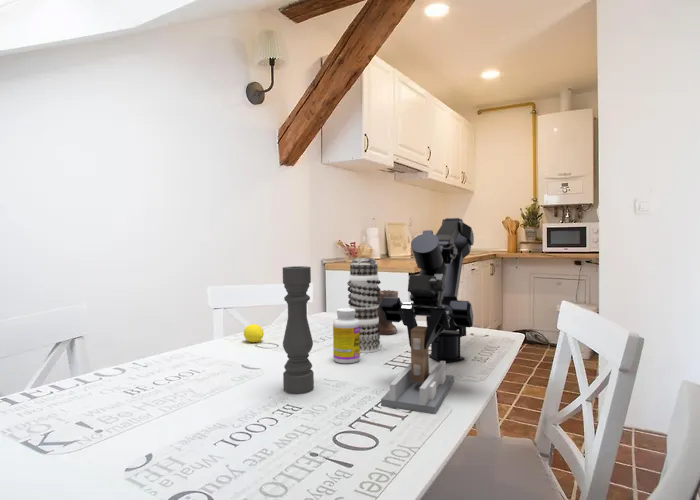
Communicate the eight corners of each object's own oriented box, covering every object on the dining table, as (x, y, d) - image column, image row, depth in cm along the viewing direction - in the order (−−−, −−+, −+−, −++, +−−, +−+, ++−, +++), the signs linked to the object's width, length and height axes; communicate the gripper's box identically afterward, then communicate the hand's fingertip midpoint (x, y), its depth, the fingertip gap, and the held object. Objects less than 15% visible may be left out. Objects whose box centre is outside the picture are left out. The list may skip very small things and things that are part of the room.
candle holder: (318, 385, 92) (316, 266, 91) (306, 395, 86) (303, 268, 85) (291, 382, 94) (289, 266, 93) (278, 392, 88) (275, 268, 87)
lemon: (267, 343, 131) (269, 325, 130) (254, 347, 126) (256, 328, 126) (250, 337, 135) (252, 320, 134) (237, 340, 130) (238, 323, 130)
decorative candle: (379, 344, 126) (378, 256, 125) (383, 352, 116) (382, 258, 116) (347, 344, 125) (346, 257, 125) (348, 353, 116) (347, 259, 115)
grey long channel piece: (408, 376, 97) (408, 357, 97) (454, 381, 93) (454, 362, 93) (381, 405, 81) (380, 382, 81) (435, 413, 77) (434, 390, 77)
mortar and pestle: (383, 338, 132) (382, 272, 131) (360, 335, 137) (359, 271, 136) (403, 331, 141) (402, 269, 140) (380, 328, 146) (380, 268, 146)
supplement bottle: (357, 365, 106) (356, 312, 106) (330, 363, 107) (329, 311, 107) (362, 357, 113) (361, 307, 112) (336, 356, 114) (336, 307, 113)
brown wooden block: (416, 374, 89) (416, 325, 89) (428, 376, 88) (428, 326, 88) (409, 382, 85) (409, 331, 84) (422, 384, 84) (422, 332, 83)
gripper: (381, 259, 93) (362, 320, 84) (471, 260, 86) (461, 327, 76) (393, 291, 101) (377, 351, 91) (476, 294, 93) (468, 360, 84)
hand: (418, 347), depth 85 cm, fingers closed on brown wooden block, 2 cm apart
